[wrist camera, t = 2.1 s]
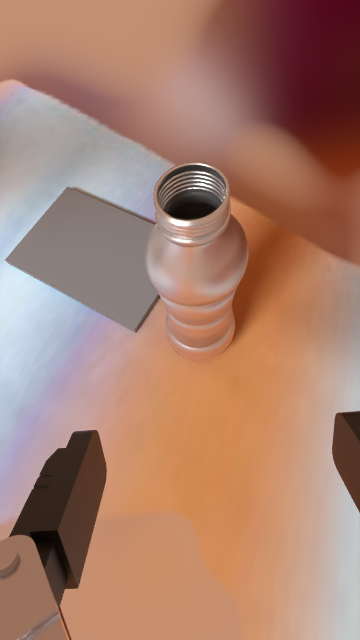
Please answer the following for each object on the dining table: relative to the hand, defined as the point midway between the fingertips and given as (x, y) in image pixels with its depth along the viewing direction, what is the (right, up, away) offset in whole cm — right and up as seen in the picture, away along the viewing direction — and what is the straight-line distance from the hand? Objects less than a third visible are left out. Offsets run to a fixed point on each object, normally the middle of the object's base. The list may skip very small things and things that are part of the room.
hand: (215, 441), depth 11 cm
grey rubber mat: (-10, +12, +27) cm, 32 cm away
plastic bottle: (+1, +2, +23) cm, 23 cm away
